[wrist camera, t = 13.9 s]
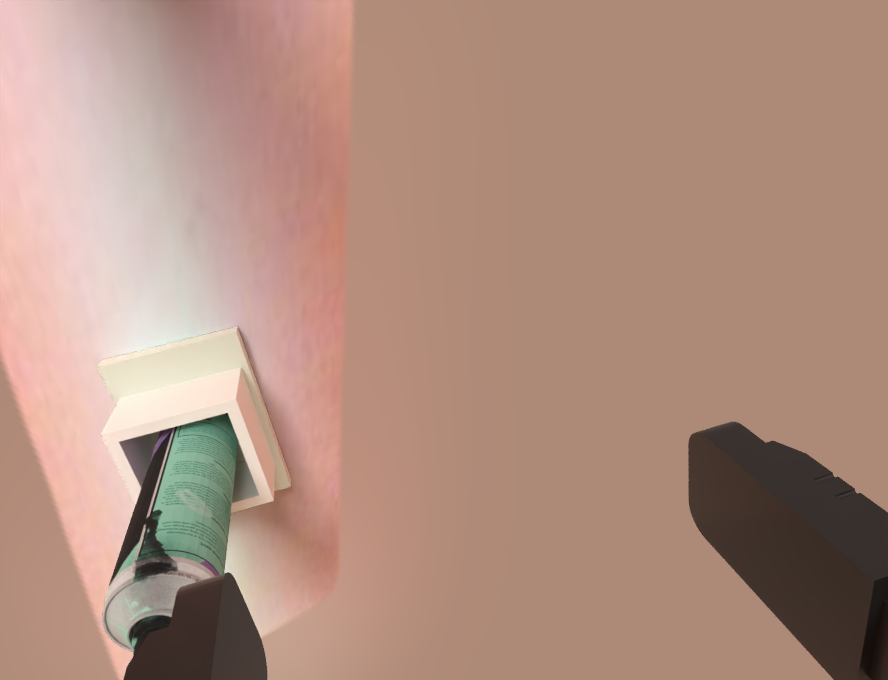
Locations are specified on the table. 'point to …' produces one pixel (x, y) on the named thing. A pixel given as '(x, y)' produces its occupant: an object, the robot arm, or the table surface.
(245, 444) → the can holder
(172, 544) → the spray can
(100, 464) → the table surface
